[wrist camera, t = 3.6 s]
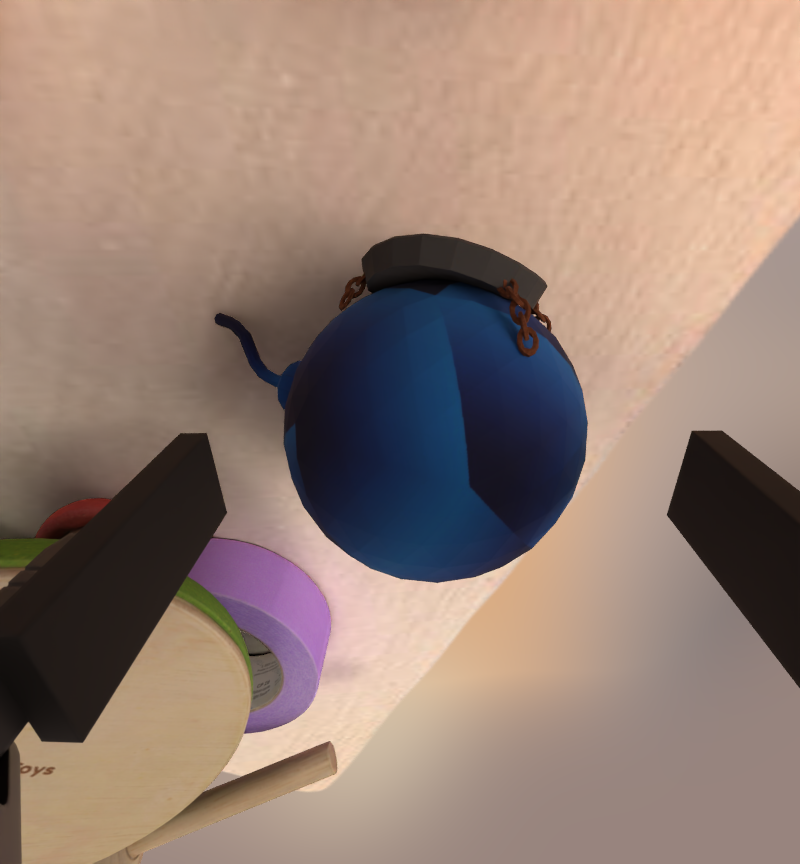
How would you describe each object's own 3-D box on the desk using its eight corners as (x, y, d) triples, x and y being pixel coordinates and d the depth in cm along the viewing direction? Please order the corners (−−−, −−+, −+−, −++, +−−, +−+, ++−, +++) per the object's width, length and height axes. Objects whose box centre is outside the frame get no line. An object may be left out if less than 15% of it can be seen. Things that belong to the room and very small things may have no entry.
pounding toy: (358, 769, 24) (317, 625, 32) (71, 480, 13) (121, 370, 21) (51, 969, 22) (92, 758, 30) (-651, 835, 10) (-271, 551, 18)
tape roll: (187, 749, 28) (213, 689, 31) (356, 711, 25) (364, 649, 28) (46, 628, 23) (95, 571, 26) (237, 564, 20) (264, 510, 24)
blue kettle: (671, 226, 8) (108, 157, 13) (500, 720, 11) (87, 495, 16) (637, 299, 17) (307, 240, 22) (549, 558, 19) (273, 449, 25)
